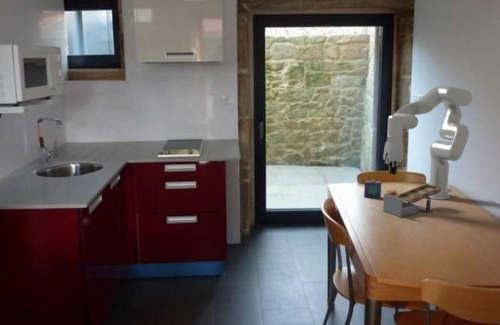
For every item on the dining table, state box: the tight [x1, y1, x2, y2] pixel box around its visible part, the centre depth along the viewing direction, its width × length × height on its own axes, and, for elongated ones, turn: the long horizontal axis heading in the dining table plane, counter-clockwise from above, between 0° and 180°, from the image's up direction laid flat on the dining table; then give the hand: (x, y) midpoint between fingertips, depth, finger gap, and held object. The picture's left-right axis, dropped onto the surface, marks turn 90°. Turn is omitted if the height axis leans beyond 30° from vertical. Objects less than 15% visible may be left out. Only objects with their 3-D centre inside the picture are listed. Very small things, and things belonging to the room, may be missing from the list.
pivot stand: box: [406, 199, 433, 214], centre depth 270 cm, size 4×15×6 cm, turn 31°
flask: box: [363, 178, 382, 199], centre depth 290 cm, size 9×3×11 cm, turn 88°
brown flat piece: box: [384, 183, 441, 204], centre depth 272 cm, size 21×21×3 cm
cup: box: [382, 193, 419, 218], centre depth 263 cm, size 12×12×9 cm
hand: (392, 173), depth 273 cm, fingers closed
